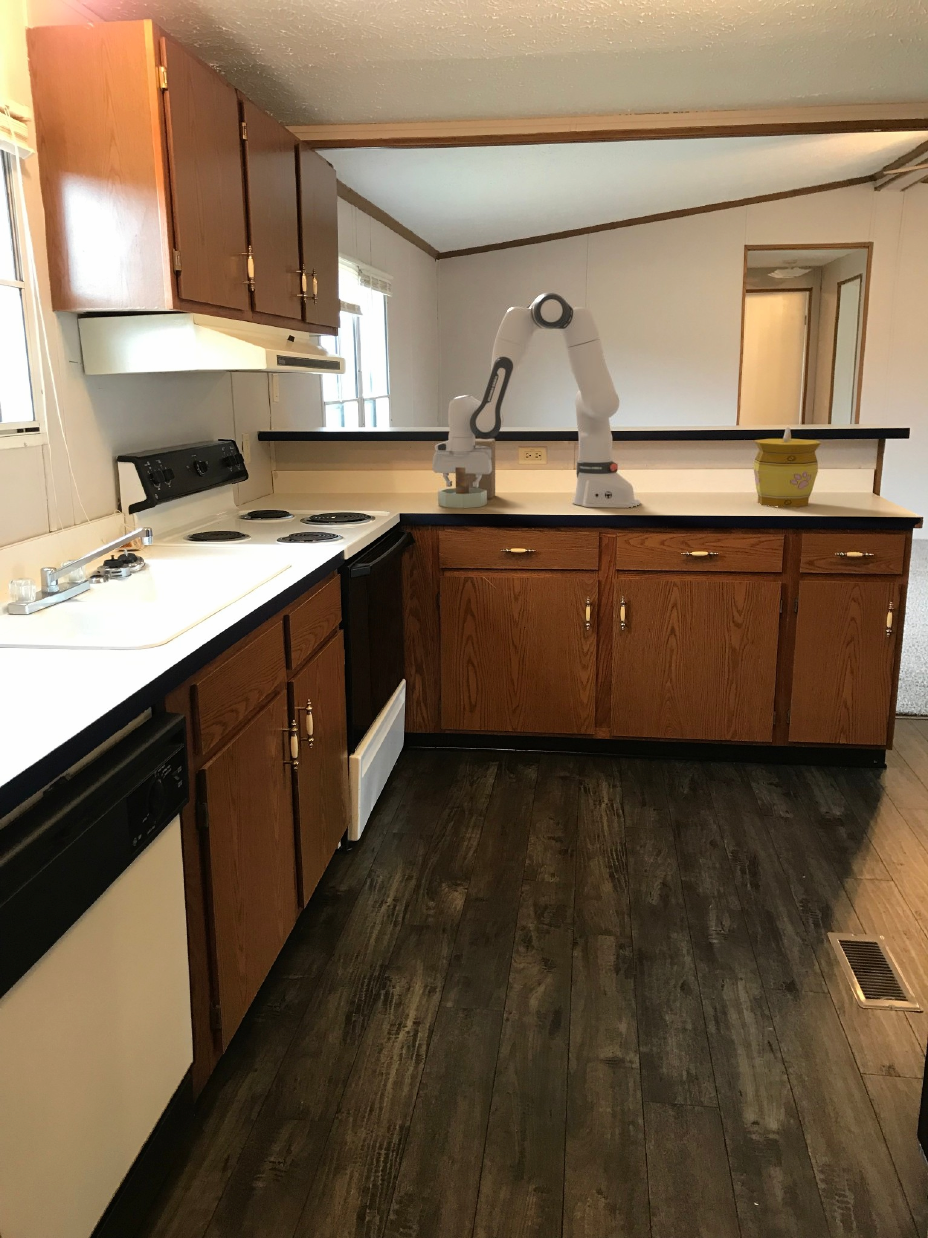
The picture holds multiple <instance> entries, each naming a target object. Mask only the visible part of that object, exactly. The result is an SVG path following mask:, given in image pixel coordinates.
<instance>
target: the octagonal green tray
mask: <svg viewBox="0 0 928 1238" xmlns="http://www.w3.org/2000/svg"><path fill="white" fill-rule="evenodd" d="M455 492H456V487H449V488H448V487H447V488H442V489H440V490H438V491H437V502H438V503H437V505H438V506H440V507H444V508H452V509H453V508H454V509H455V508H456V509H469V508H480V507H483V506H486V505H487V504H488V502H487V501H488V499H487V490H484V489H480V488H469V492H470V493H468V494H455Z"/></svg>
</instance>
